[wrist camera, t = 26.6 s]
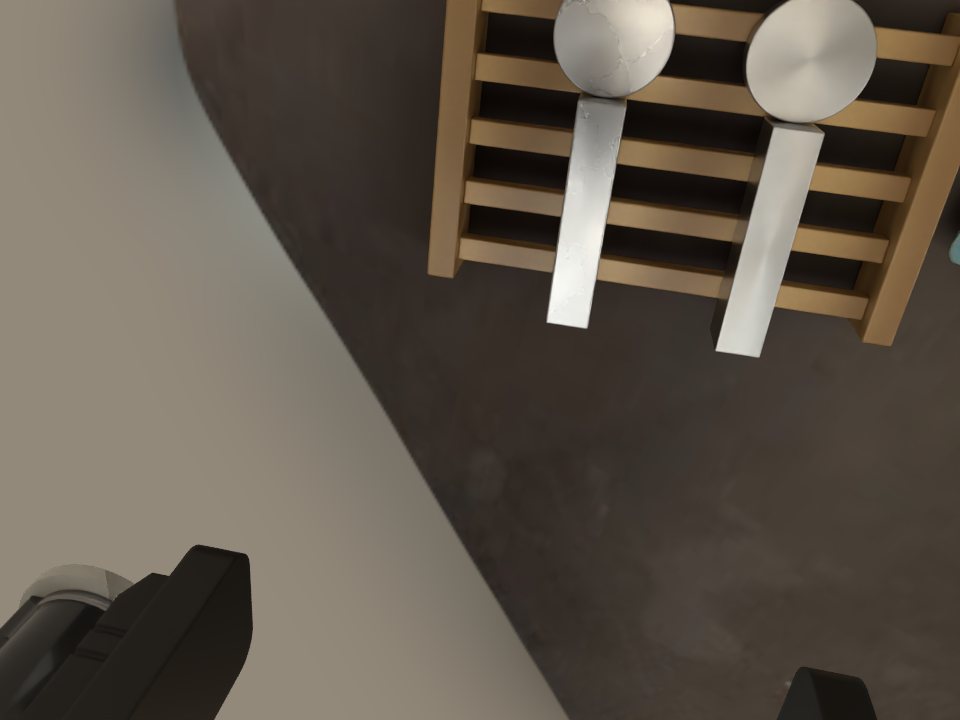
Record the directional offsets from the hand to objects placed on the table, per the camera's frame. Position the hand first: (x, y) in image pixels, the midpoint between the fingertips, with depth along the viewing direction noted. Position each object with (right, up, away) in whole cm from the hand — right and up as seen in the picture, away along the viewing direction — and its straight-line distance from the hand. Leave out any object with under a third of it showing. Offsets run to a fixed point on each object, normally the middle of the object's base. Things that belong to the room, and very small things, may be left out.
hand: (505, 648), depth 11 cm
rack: (+8, +13, +22) cm, 26 cm away
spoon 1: (+4, +13, +20) cm, 24 cm away
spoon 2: (+11, +12, +19) cm, 25 cm away
